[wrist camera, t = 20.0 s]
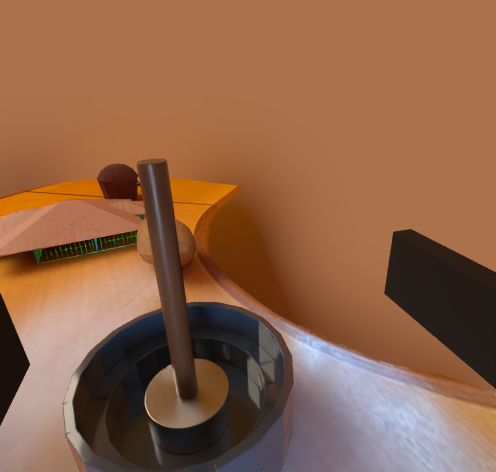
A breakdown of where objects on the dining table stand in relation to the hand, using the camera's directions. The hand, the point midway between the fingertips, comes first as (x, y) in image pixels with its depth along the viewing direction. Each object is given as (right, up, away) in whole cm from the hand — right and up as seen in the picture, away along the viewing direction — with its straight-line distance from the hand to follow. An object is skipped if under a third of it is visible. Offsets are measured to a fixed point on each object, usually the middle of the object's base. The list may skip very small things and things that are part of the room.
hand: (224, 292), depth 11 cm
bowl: (-4, -14, +17) cm, 23 cm away
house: (-37, +1, +58) cm, 69 cm away
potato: (-13, -3, +45) cm, 47 cm away
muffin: (-37, +13, +85) cm, 93 cm away
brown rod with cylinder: (-4, -14, +17) cm, 22 cm away
